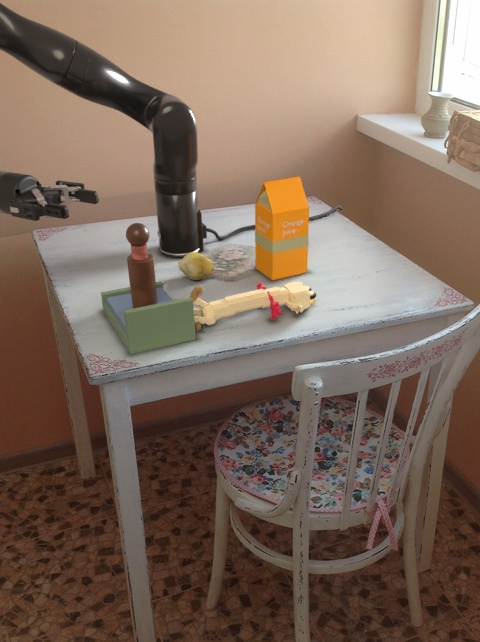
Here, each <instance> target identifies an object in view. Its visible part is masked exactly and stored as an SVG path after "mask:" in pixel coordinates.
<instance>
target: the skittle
mask: <svg viewBox="0 0 480 642" xmlns="http://www.w3.org/2000/svg"><path fill="white" fill-rule="evenodd" d="M125 237H126V240H127V242H128V244H129V245H130V253H131V254H129V255H127V257H126V263H127V272H128V280H129V287H130V290H131V298H132V307H133V309H134V308H139V307H144V306H149V305H154V304H158V301H157V291H156V282H157V281H156V271H155V260H154V259H155V258H154V255H153V254H152V253H149V251H148V244H147V243H148V242H149V240H150V230H149V229H148V228H147V226H146V225H144V223H141V222H134V223H131V224H130V225H129V226H128V227H127V228H126V230H125Z"/></svg>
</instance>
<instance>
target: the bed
mask: <svg viewBox="0 0 480 642" xmlns="http://www.w3.org/2000/svg"><path fill="white" fill-rule="evenodd" d="M156 291H157V301H158V304H154V305H149V306H144V307H139V308H134V309H133V307H132V298H131V290H130V286H128V287H123V288H118V289H112V290H105V291H101V292H100V297H101V303H102V310H103V312H104V314H105V316H106V317H107V319H108V321H109V322H110V324H111V326H112V327H113V328H114V330H115V332H116V333H117V335H118V336H119V338H120V339H121V341H122V343H123V345H125V347H126V349H127V350H128V352H129V353H130V355H132V354H133V355H134V354H139V353H143V352H147V351H152V350H157V349H160V348H164V347H170V346H174V345H178V344H182V343H187V342H191V341H195V340H196V338H197V337H196V330H195V322H194V308H195V307H194V303H193V299H192V298H191V297H190V296H189V297H184V298H179V299H172V297H170V295H169V294H168V292H166V291H165V289H164V282H163V281H156Z"/></svg>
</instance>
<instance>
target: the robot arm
mask: <svg viewBox="0 0 480 642" xmlns="http://www.w3.org/2000/svg"><path fill="white" fill-rule="evenodd" d="M0 51H1V52H4V53H5V54H7V55H9V56H11V57H12V58H13V59H15V60H17V61H18V62H20V63H21V64H22V65H24V66H25V67H27V68H28V69H30V70H32V72H34V73H36V74H37V75H39V76H41V77H42V78H44V79H45V80H47V81H49V82H51V83H52V84H54V85H55V86H58V87H59V88H61V89H63V90H65V91H67V92H69V93H70V94H73V95H74V96H76V97H79V98H81V99H84V100H86V101H89V102H92V103H94V104H97V105H100V106H103V107H106V108H108V109H109V108H110V109H113V110H115V111H118V112H120V113H121V114H123V115H125V116H127V117H129V118H130V119H132V120H133V121H135V122H136V123H138V124H140V125H141V126H143V127H144V128H146V129H147V130H148V131H149V132H150V133H152V141H153V142H152V143H153V154H154V157H153V158H154V160H153V164H152V173H153V183H154V184H153V185H154V195H155V206H156V218H157V229H158V230H157V236H158V239H159V241H158V242H159V243H158V244H159V252H160V254H162V255H164V256H165V257H169V258H170V257H171V258H184V256H186V255H187V254H189V253H191V252H197V253H201V252H204V239H207V238H208V234H207V232H208V233H211V234H213V235H214V237H215V239H217V240H219V241H224V240H227V239H229V238H231V237H233V236H235V235H236V234H238V233H240V232H242V231H243V232H244V231H246V230H251V229H255V224H252V225H251V224H250V225H245V226H241V227H239V228H237V229H235V230H233V231H231V232H230V233H228V234H227V235H225V236H220V235H219V234H218V232H217V231H216V230H214V229H212V228H209V227H207V225H206V224H205V223H203V213H202V210H201V209H200V208H199V199H198V182H197V181H198V180H197V165H198V162H199V161H198V160H199V159H198V156H199V155H198V154H199V153H198V151H199V150H198V127H197V119H196V116H195V114H194V112H193V110H192V108H191V107H190V106H189V105H188V104H187V103H185V102H184V101H183V100H182V99H180V98H179V97H177V96H175V95H173V94H170V93H168V92H166V91H163V90H160V89H158V88H156V87H153V86H152V85H149V84H147V83H145V82H142V81H141V80H139V79H137V78H135V77H134V76H132V75H130V74H129V73H128V72H126V71H125V70H123V69H122V68H121V67H120V66H118V65H117V64H115V63H114V62H113V61H111V60H110V59H109V58H107V57H106V56H104V55H103V54H101V53H100V52H98V51H97V50H95V49H93V48H91V47H89V46H88V45H87V44H84V43H82V42H81V41H79V40H78V39H76V38H74V37H71V36H70V35H68V34H66V33H64V32H62V31H59V30H57V29H56V28H53V27H50V26H48V25H46V24H42V23H40V22H37V21H35V20H32V19H30V18H27V17H25V16H23V15H21V14H19V13H17V12H16V11H14V10H12V9H11V8H9V7H8V6H7V5H4V4H3V3H2V2H0ZM85 187H86V186H85V183H82V182H75V181H67V180H66V181H65V180H56V181H55V185H52V184H41V183H40V181H39V180H38V179H37V178H36V177H34V175H30V174H25V173H18V172H11V171H4V170H0V214H5V215H11V216H12V217H14V218H20V219H23V220H24V219H25V220H28V221H29V220H30V221H33V222H34V221H35V222H36V221H37V222H39V220H41V218H43V219H48V218H55V219H60V220H61V219H62V220H66V219H69V218H70V211H69V207H68V206H69V205H70V204H71V203H77V202H78V203H86V204H90V205H91V204H92V205H97V204H98V203H100V199H99V193H98V191H96V190H91V189H86V188H85ZM62 197H64V199H63V200H62ZM336 210H340V211H344V207H342V206H341V205H335V206H333V207H332V208H330V209H329V210H328V211H326V212H322V213H319V214H316V215H313V216H309V221H312V220H313V221H314V220H317V219H319V218H323V217H326V216H328V215H331V214H332V213H334V211H336Z"/></svg>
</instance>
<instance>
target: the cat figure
mask: <svg viewBox="0 0 480 642" xmlns="http://www.w3.org/2000/svg"><path fill="white" fill-rule="evenodd" d="M203 294H204V289H203V287H202V286H201V285H197V286H196V285H195V286H194V288H192V290H191V292H190V295H189V297H191V298H192V299H193V304H194V305H196V306H200V307H194V322H195V332H198V331H201V330H202V325H203V324H206V325H207V326H211V325H215V323H216V322H217V321H219V320H220V319H223V318H227V317H232V316H235V314H239V313H242V312H247V311H252V310H256V309H259V308H261V309H265V308H270V313H271V317H270V321H275V320H276V319H277V317H278V316H281V315H282V309H281V308H280V307H281V306H285V305H286V306H287V307H288V309H289V310H290V311H292V312H295V314H297V315H298V314H299V312H300V313H301V314H302V313H303V312H304V310H308V309H309V307H310V306H313V305H315V303H316V302H317V301H319V298H316V297H317V293H316V292H315V291H314V290H312V288H311V287H310V286H309V285H305V284H303V282H301V281H298V280H297V281H293V282H292V281H291V282H288V283H285V284H284V285H283V286H281V287H279V286H275V287H269V288H267V287H266V286H264V285H263V283H262V282H260V281H259V282H257V284H256V289H254V290H250V291H245V292H242V293H237V294H232V295H229V296H225V297H224V298H221V299H217V300H213V301H210V302H209V303H208V302H207V301H204V299H202V298H201V297H200V296H203Z"/></svg>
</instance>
